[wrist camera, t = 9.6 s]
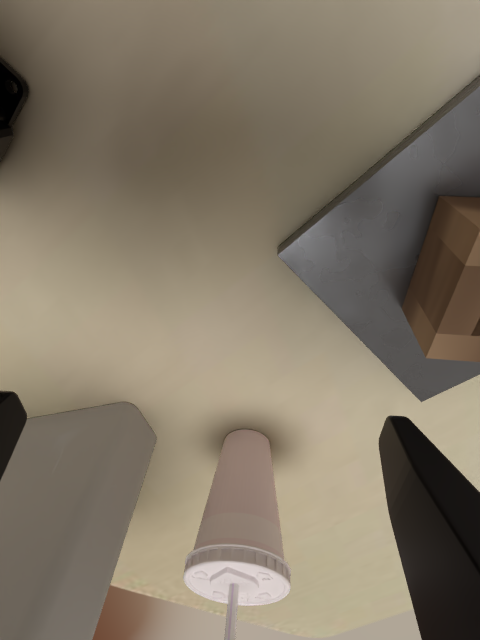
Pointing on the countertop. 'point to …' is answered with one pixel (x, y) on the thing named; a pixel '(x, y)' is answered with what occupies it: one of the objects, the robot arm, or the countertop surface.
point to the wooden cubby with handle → (448, 283)
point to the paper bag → (68, 518)
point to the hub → (392, 240)
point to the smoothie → (240, 532)
